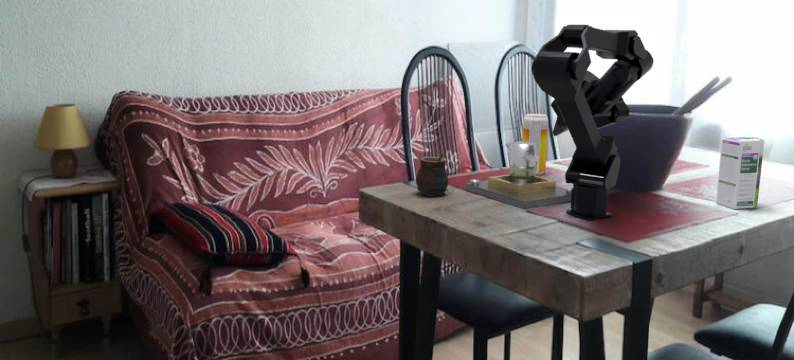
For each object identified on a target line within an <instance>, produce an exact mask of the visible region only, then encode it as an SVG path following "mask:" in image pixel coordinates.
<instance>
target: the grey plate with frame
mask: <svg viewBox="0 0 794 360" xmlns="http://www.w3.org/2000/svg"><path fill="white" fill-rule="evenodd" d="M509 175H510V173H509V174H503V175H493V176H488V177H487V179H486V180H479V179H477V178H476V179H475V178H474V179H470V182H465V184H464V185H465V190H466V191H469V192H472V193H474V194H478V195H480V196H484V197H487V198H490V199H492V200H495V201H498V202H502V203H505V204H508V205H511V206H513V207H517V208H520V209H523V210H527V209H531V208H532V209H533V208H539V207H543V206H550V205H556V204H562V203H567V202H568V203H569V202H571V195H572V189H573V187H566V188H564V187H560V186H557V181H556V180H554V179H550V178H548V177H547V178H546V177H542V176H540V175H536V176H535V183H530V184H523V185H519V184H515V183H512V182H509Z"/></svg>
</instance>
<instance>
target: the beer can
mask: <svg viewBox="0 0 794 360" xmlns="http://www.w3.org/2000/svg"><path fill="white" fill-rule="evenodd" d="M548 118H549V117H548V115H547V114H543V113H527V114H525V115H524V117H523V125H522V141H523V142H533V143H536V144H537V146H536V169H535V176H543V175H544V173H545V172H546V168H547V167H546V166H547V165H546V164H547V147H548V146H547V145H548V134H549V133H548V128H549V119H548Z"/></svg>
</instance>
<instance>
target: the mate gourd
mask: <svg viewBox="0 0 794 360" xmlns="http://www.w3.org/2000/svg"><path fill="white" fill-rule="evenodd" d="M445 154H446V152H444V153H442V154H441V155H440V156H439V157H438V156H424V157H420V161H419V162H420V163H419V164H420V168H419V169H418V171H417V173H416V178H415V184H416V187H417V190H418V192H420V193H421V194H422V195H423V196H426V197H427V196H428V197H438V196H441V195H443V194H444V193H445V192H446V191H447V188H448V185H449V176H448V174H447V171H446V159H445V158H443V157H444V155H445Z"/></svg>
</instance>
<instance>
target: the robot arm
mask: <svg viewBox="0 0 794 360" xmlns="http://www.w3.org/2000/svg"><path fill="white" fill-rule="evenodd" d="M568 48H576V49H581V51H580V52H572V51H566V50H567V49H568ZM590 51H594V52H595V54H596V56H598V57H599V58H601V59H603V60H615V62H613V63H612V65H610V67H609V68H608V69H607V71H606V72H605V73H604V74H603V75H602V76H601V77H600V78H599V77H598V76H597V75H596V74H594V73H592V72H591V71H589V70H588V69H589V67H590V65H591V64H592V60H591V55H590ZM653 65H654V58H653V56H652V53H650V52H649V51H648V50H647V49H646V48H645V45H644V43H643V41H642V39H641V37H640V36H639V33H638V31H636V30H635V29H605V30H604V29H602V28H601V29H600V28H597V27H593V26H592V25H589V24H567V25H565V26H563V27H562V28H561V29H560V30H559V33H558V34H557V35H556V36H554V37H553V38H551V39H550V40H549V41H547V42H545V43H544V44H542V46H541V47H540V49H539V51H538V52H537V54H536V55H535V57H534V58H533V61H532V63H531V74H532V76H533V80H534V81H535V83H536V84H537V86H538V87H539V88H540V90H541V91H542V92H544V93H545V94H547V95H548V96H550V97H551V98H553V100H552V101H551V103H550V107H551V109H552V110H553V112H554V113H555V115H556V120H555V123H554V125H553V129H552V135H553V136H554V137H557V136H560V135H562V134H564V133H565V132H569V134H570V136H571V139H572V140H573V144H574V146H575V150H574V153H573V154H572V156H571V160H570V163H569V164H568V167H567V169H566V171H565V173H564V178H565V183H566V184H573V185H572V188H573V189H572V195H571V201H570V209H566V210H565V213H566V214H569V215H571V216H574V217H575V216H576V217H577V218H581V219H583V220H584V219H585V220H588V221H592V220H596V219H602V218H608V217H612V216H613V213H611V212H608V211H607V207H608V196H609V192H608V191H609V189H611V188H613V187H616V185H617V181H618V177H619V172H620V168H621V157H620V155H619V152H618V149H619V148H618V147H617V146H616V143H615V139H614V137H613V136H612V135H606V134H605V135H604V134H600V133H601V132H600V131H599V129H602V128H605V127H608V126H612V125H615V124H618V123H620V122H625V121H626V120H627V118H628V117H630V108H629V107H628V105H627V104H626V101H625V100H624V98H623V96H624V95H625V94H626V93H627V91H629V90H630V88H631V87H633V86H634V85H635V84H636V82H638V81H639V80H641V78H642V77H643V76H645V75H646V74H647V73H648V72H649V71H650V70H652V68H653Z"/></svg>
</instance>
